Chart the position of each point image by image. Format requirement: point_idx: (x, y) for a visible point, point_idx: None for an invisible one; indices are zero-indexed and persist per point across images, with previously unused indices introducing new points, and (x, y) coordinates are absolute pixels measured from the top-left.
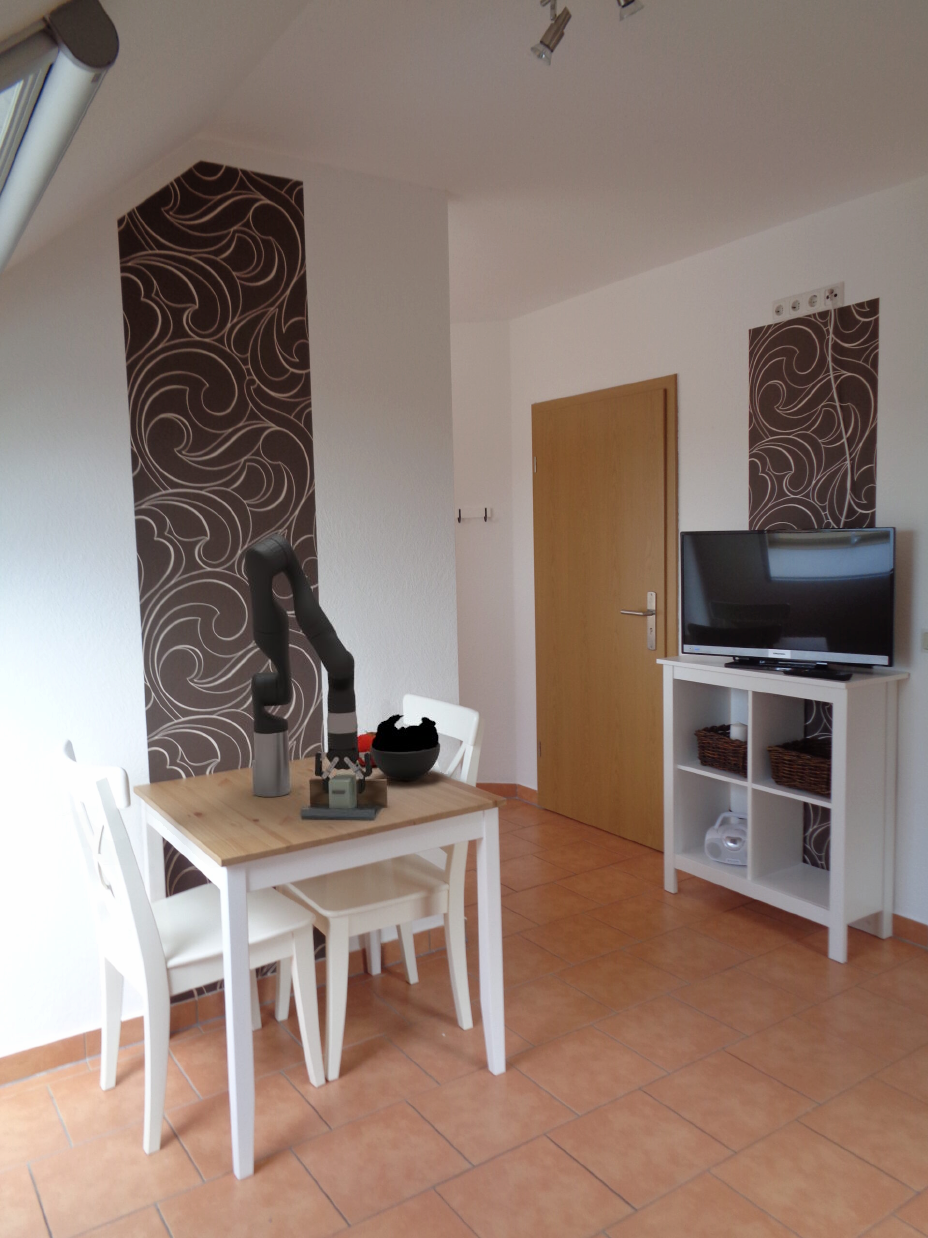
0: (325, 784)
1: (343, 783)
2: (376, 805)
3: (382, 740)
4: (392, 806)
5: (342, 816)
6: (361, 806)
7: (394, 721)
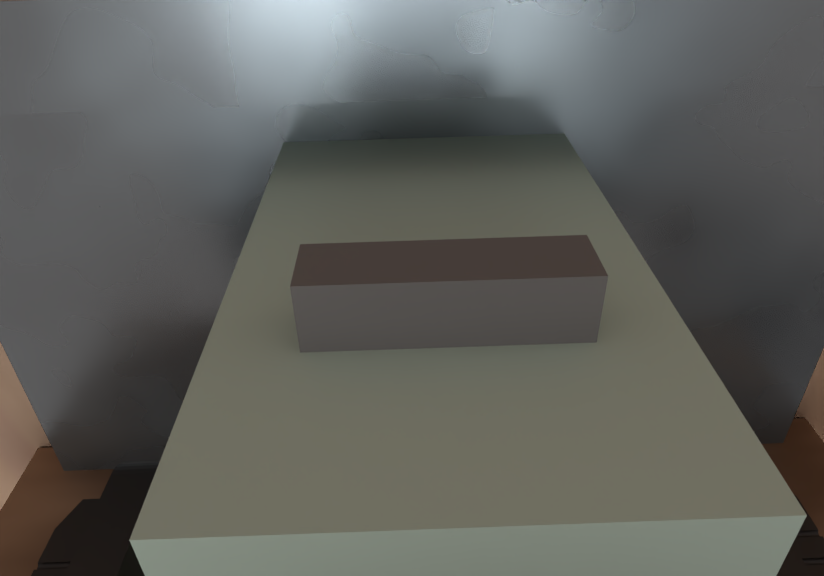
0: (793, 563)
1: (306, 483)
2: (104, 441)
3: None
4: (8, 483)
5: None
6: None
7: None
